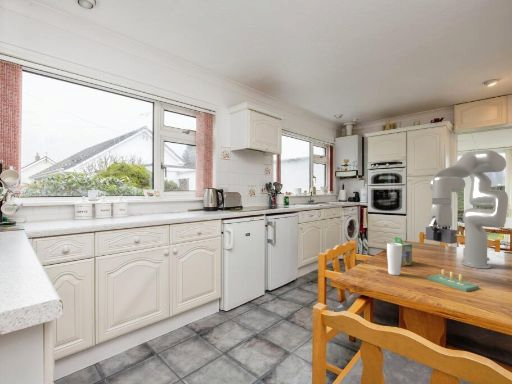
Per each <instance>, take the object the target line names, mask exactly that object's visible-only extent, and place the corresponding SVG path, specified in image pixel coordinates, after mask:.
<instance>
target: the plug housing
mask: <svg viewBox="0 0 512 384" xmlns="http://www.w3.org/2000/svg"><path fill="white" fill-rule="evenodd" d="M444 228H445V227H444ZM444 228H441V229H440V233H441V241H436V240H433V230H432V228H431V227H430V226H426V227H425V240H427V241H428V240H429V241H434V242H440V243H443V244H444V243H445V244H451V245H452V244H457V243H458V238H464V239H465V234H460V233H459V234H458V230H457V229H451V228H450V229H444ZM437 229H438V227H437Z"/></svg>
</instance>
